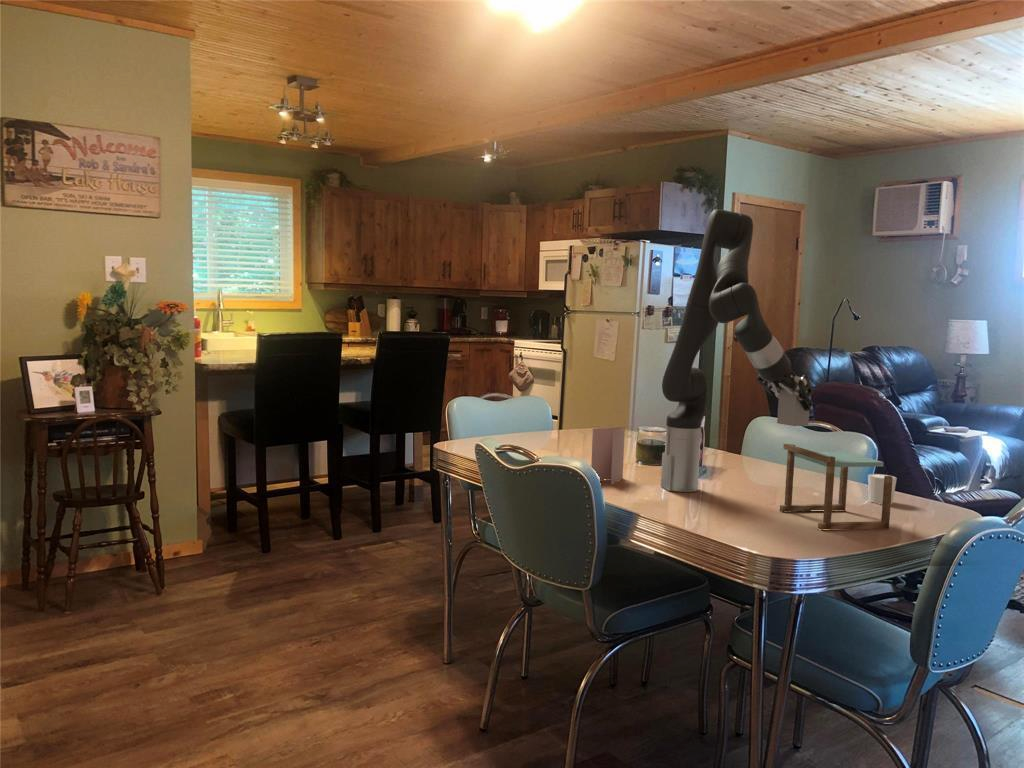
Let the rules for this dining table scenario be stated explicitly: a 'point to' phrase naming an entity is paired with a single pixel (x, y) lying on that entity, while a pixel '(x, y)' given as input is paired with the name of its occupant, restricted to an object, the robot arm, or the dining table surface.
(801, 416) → the granite block
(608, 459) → the greeting card
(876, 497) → the white cup
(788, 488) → the frame
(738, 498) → the dining table surface
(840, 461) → the trapdoor
